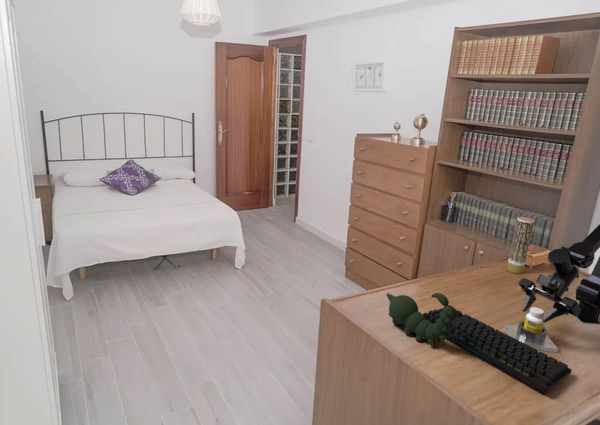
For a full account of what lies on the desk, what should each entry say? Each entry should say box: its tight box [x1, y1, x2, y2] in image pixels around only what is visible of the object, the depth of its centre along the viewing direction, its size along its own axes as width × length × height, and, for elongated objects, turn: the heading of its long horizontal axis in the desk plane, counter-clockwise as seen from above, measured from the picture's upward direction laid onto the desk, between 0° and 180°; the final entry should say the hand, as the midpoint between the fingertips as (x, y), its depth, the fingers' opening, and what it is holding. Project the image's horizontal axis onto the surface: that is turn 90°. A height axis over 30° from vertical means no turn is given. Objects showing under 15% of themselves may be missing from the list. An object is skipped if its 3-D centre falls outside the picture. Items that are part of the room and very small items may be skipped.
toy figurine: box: [386, 292, 458, 346], centre depth 139 cm, size 9×19×25 cm
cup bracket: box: [504, 320, 559, 353], centre depth 141 cm, size 12×12×5 cm
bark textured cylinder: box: [506, 216, 535, 275], centre depth 192 cm, size 7×7×25 cm
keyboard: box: [422, 307, 572, 396], centre depth 135 cm, size 42×16×5 cm, turn 37°
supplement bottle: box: [523, 306, 545, 333], centre depth 140 cm, size 5×5×10 cm
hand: (533, 316), depth 138 cm, fingers open, 7 cm apart
